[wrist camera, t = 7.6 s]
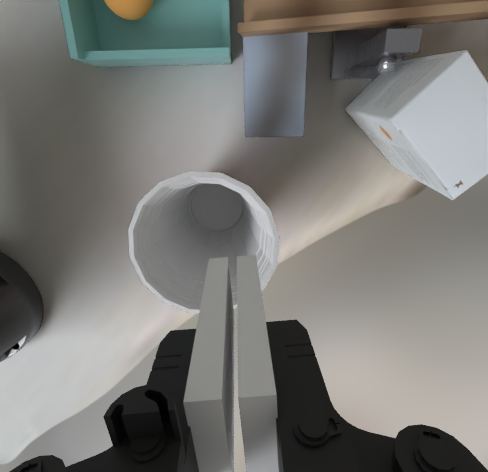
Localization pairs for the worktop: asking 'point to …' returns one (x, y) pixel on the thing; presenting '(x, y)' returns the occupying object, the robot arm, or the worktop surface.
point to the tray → (149, 33)
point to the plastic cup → (199, 235)
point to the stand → (371, 50)
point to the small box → (430, 120)
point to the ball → (130, 8)
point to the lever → (296, 47)
